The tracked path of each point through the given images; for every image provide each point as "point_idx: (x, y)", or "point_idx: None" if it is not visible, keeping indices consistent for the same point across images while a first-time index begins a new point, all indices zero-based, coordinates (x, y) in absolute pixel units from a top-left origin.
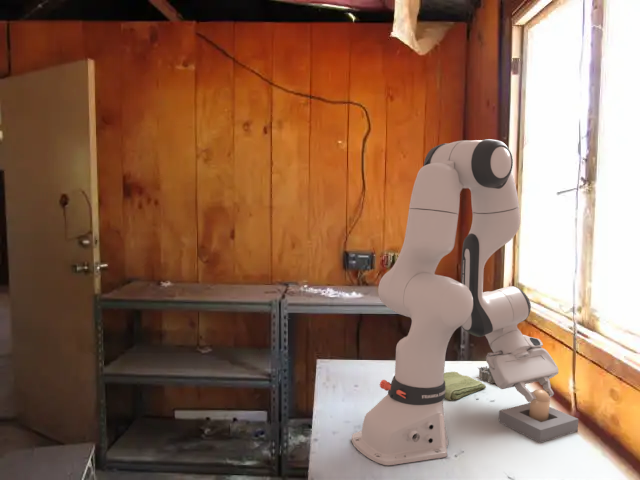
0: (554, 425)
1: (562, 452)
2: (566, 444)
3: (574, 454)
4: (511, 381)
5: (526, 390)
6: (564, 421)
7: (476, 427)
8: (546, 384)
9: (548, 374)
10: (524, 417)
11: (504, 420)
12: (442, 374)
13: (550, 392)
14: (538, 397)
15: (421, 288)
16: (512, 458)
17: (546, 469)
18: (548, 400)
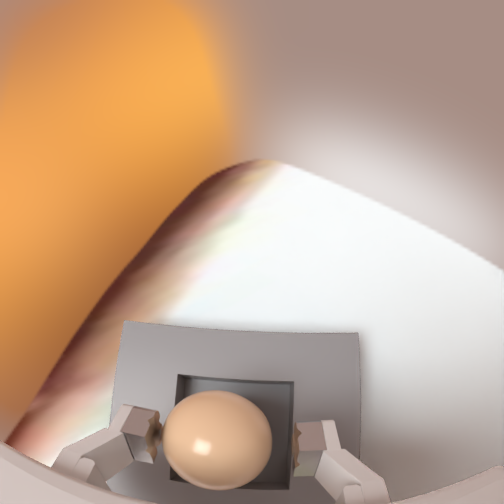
0: (270, 335)
1: (330, 275)
2: (272, 299)
3: (308, 253)
4: (489, 475)
5: (356, 459)
6: (194, 337)
7: None
8: (101, 458)
9: (36, 463)
10: None
11: None
12: None
13: (142, 414)
14: (264, 426)
15: None
16: (469, 311)
17: (430, 245)
18: (216, 390)
